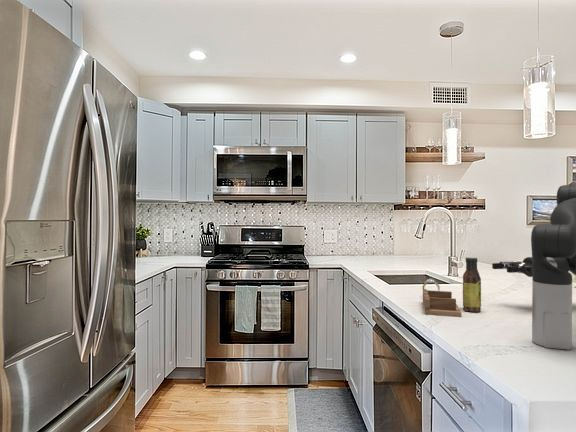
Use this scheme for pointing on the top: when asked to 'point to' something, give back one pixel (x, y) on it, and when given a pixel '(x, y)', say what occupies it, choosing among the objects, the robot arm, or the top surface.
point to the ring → (431, 282)
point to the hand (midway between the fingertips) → (499, 267)
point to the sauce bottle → (471, 286)
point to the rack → (440, 303)
